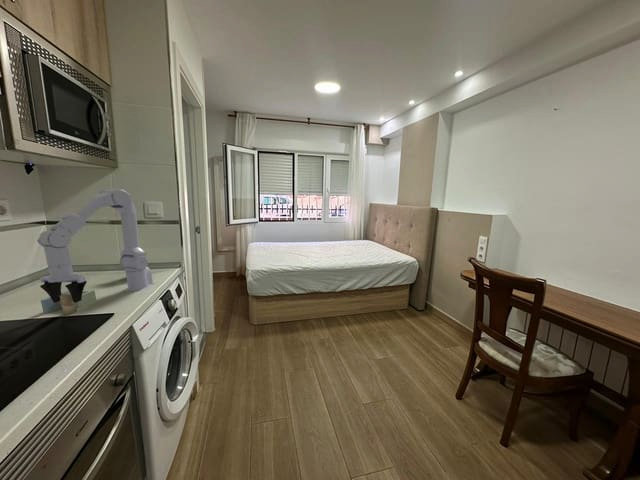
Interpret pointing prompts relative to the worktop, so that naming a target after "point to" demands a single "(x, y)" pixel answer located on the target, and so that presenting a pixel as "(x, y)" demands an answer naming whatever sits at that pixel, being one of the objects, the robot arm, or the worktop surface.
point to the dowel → (68, 304)
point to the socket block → (85, 298)
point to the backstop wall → (51, 304)
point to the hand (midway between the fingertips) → (67, 301)
